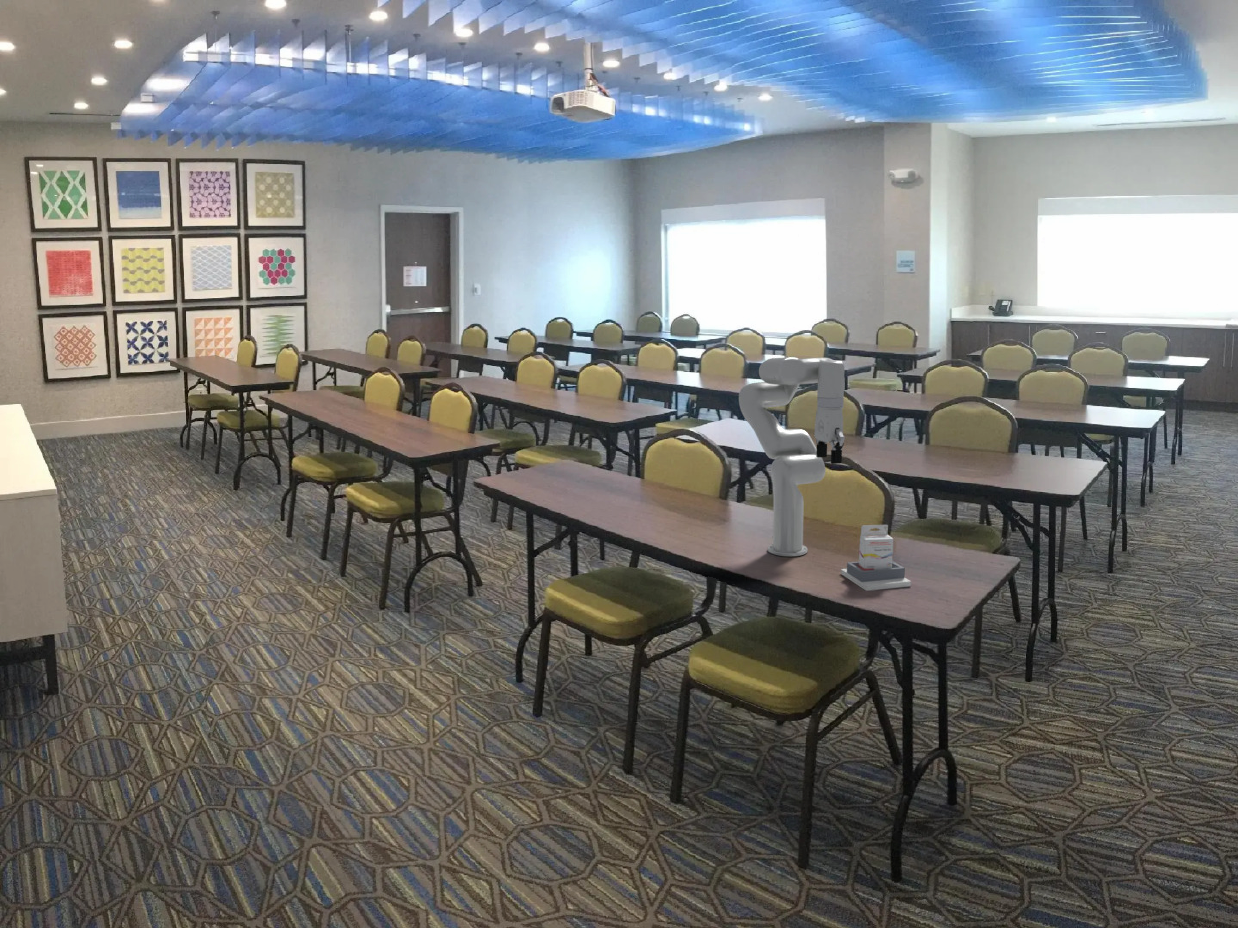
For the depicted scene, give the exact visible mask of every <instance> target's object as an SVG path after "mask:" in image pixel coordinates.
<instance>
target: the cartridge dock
mask: <svg viewBox="0 0 1238 928" xmlns="http://www.w3.org/2000/svg"><path fill="white" fill-rule="evenodd" d="M905 570H906V569H905V567H904V566H902V565H900V564H898V563H897V562H895V561H893V560H892V568H888V569H877V570H867V571H863V570H862V569H860V568H859V561H849V562H847V563H846V568H841V569H840V574H841V575H842V576H843V577H844V578H846V579H847V580H849V581H851V582H852V583H854V584H856V585H857V586H859V587H860V588H861V589H863V590H865V592H867V591H877V590H886V589H895V588H896V589H898V588H908V587H911V586H912V581H911V580H910V579H908V578H906V577H905V572H906V571H905Z"/></svg>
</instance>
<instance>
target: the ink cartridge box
mask: <svg viewBox="0 0 1238 928" xmlns="http://www.w3.org/2000/svg"><path fill="white" fill-rule="evenodd" d="M873 529H877V530H873ZM888 530H889V525H888V524H870V525H869V524H868V525H865V524H864V525H863V524H862V525H861V528H860V536H859V549H858V550H859V552H858V562H859V568H860V569H862V570H863V571H867V570H877V569H888V568H892V561H893V557H894V556H893V555H894V554H893V552H894V538H893V537H892V536H890V535H889V534H888V532H889V531H888Z"/></svg>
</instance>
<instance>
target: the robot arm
mask: <svg viewBox="0 0 1238 928" xmlns="http://www.w3.org/2000/svg"><path fill="white" fill-rule="evenodd" d="M758 375H759V378H760V379H761V380H762V381H761V382H752V383H748V384H746V385H744V386H743V387H742V388H741V389H740V391H739V393H738V404H739V408H740V411H741V414H742V415H743V417H744V419H745V420H746V422H747V423H748V424H749V426H750V427H751V428H752V430H753V431H754V434H755V435H756V438H757V439H758V441H759V443H760V445H761V447H762V449H763V451H764V453H765V455H766V456H767V457H768V458H769V459H772V460H773V461H772V463H771V466H770V475H771V480H772V481H771V482H772V489H773V510H772V511H773V518H772V520H773V522H772V523H773V525H772V527H773V529H772V544H770V545H769V546H768V547H767V551H768V552H769V553H770V554H772V555H775V556H780V557H788V558H789V557H791V558H792V557H799V556H804V555H806V554H807V553H808V547H807V546H806V545H804V497H803V494H802V492H801V490H799V488H798V486H799V485H806V484H807V485H808V484H814V483H818V482H820V481H823V479H824V477H825V475H826V465H825V462H824V460H823V458H827V456H828V444H829V443H830V445H831V446H830V447H831V451H830V464H833V465H835V464H836V465H837V464H841V463H842V462H843V461H842V459H843V454H842V453H843V448H844V443H845V439H846V437H845V435H844V419H843V418H844V416H843V409H844V398H845V397H844V396H845V395H844V394H845V392H844V391H845V363H844V362H843V361H841V360H837V359H835V360H834V359H832V358H830V357H809V358H808V357H807V358H798V357H796V356H795V357H794V356H793V357H790V356H789V357H788V356H786V357H773V358H772V357H771V358H768V359H765V360H764V361H762V363H761V364H760V365H759V369H758ZM809 384H817V395H816V396H817V398H816V399H817V401H816V403H817V404H816V413H815V420H814V421H815V423H814V438H815V439H816V441H815V443H816V444H815V443H814V441H813V438H812V437H811V436H810V434H809V433H808V432H807V431H806V430H804V429H802V428H790V429H789V428H787V429H786V428H783V427H782V425H781V424H780V421H779V420H778V419H777V417H776V416H775V415H774V414H773V413H771V411H769V410H767V409H765V408H774V407H775V408H776V407H784V406H786V405H788V404H789V403H790V402H791V401H792V400H793V397H794V396H795V395H796V392H797V391H798V388H799V386H800V385H809Z"/></svg>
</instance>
